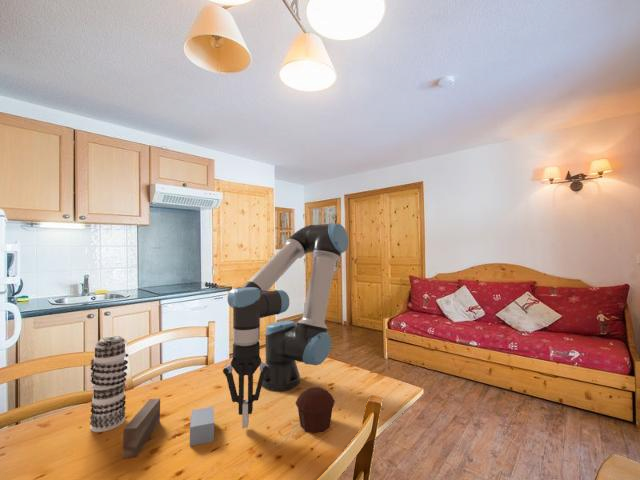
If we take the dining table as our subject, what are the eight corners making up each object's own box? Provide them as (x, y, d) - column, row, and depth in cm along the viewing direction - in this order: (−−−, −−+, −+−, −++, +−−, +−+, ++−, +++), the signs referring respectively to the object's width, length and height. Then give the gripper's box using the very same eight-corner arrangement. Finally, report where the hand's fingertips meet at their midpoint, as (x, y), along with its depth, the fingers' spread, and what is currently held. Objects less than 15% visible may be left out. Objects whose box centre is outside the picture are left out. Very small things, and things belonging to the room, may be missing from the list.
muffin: (321, 410, 95) (321, 378, 96) (342, 427, 86) (342, 392, 86) (288, 421, 89) (288, 387, 89) (307, 441, 79) (307, 403, 80)
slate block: (213, 423, 88) (213, 406, 88) (213, 441, 80) (214, 422, 80) (191, 427, 86) (191, 410, 86) (189, 446, 78) (189, 427, 78)
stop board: (159, 422, 88) (160, 398, 89) (135, 456, 74) (136, 428, 74) (149, 423, 88) (149, 399, 88) (122, 457, 73) (123, 428, 73)
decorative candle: (93, 418, 90) (96, 336, 91) (129, 412, 94) (131, 332, 95) (83, 436, 82) (86, 344, 83) (123, 428, 85) (125, 340, 86)
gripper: (269, 337, 90) (268, 416, 89) (225, 338, 88) (224, 419, 87) (268, 344, 83) (268, 431, 82) (220, 346, 81) (219, 435, 80)
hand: (245, 425), depth 85 cm, fingers closed
